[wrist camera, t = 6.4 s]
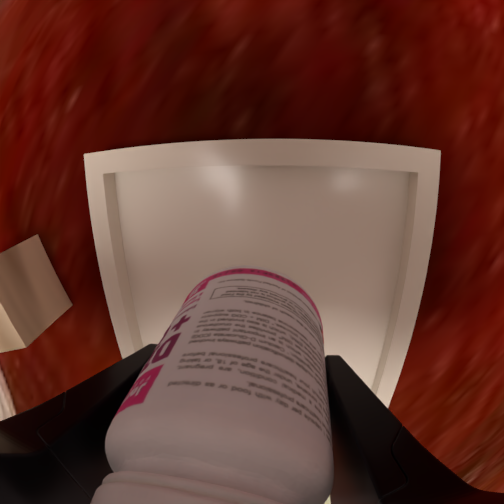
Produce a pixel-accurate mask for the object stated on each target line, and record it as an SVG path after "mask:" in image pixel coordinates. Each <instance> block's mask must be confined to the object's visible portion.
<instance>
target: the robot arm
mask: <svg viewBox="0 0 504 504" xmlns="http://www.w3.org/2000/svg"><path fill="white" fill-rule="evenodd" d="M157 345H158V344H148V345H147V346H145V347H143V348H142V349H140V350H138V351H136V352H135V353H133V354H131V355H129V356H128V357H126V358H124V359H122V360H121V361H119V362H117V363H115V364H114V365H112V366H110V367H108V368H107V369H105V370H103V371H101V372H99V373H98V374H96V375H94V376H92V377H90V378H89V379H87V380H85V381H83V382H82V383H80V384H78V385H76V386H74V387H72V388H71V389H69V390H67V391H66V393H65V392H63V393H61V394H60V395H58V396H56V397H54V398H52V399H50V400H48V401H46V402H44V403H42V404H40V405H38V406H36V407H33V408H31V409H29V410H27V411H24V412H22V413H19V414H17V415H15V416H12V417H10V418H7V419H5V420H2V421H0V504H90V503H91V501H92V498H93V496H94V494H95V491H96V489H97V488H98V487H99V486H101V485H102V481H103V479H104V478H105V477H106V476H107V475H109V474H110V473H114V472H113V470H112V469H111V467H110V465H109V462H108V460H107V456H106V452H105V439H106V434H107V431H108V429H109V427H110V425H111V422H112V420H113V418H114V417H115V415H116V413H117V411H118V410H119V408H120V406H121V404H122V403H123V401H124V399H125V398H126V396H127V394H128V393H129V391H130V389H131V388H132V386H133V385H134V383H135V381H136V380H137V378H138V376H139V374H140V372H141V371H142V369H143V367H144V366H145V364H146V363H147V361H148V360H149V358H150V357H151V355H152V353H153V352H154V350H155V348H156V346H157ZM325 365H326V376H327V386H328V398H329V409H330V420H331V431H332V444H333V458H334V480H333V487H332V490H331V493H330V502H331V504H504V493H497V492H488V491H483V490H479V489H477V488H474V487H472V486H471V485H469V484H467V483H466V482H465V481H463V480H462V479H461V478H460V477H458V476H457V475H456V474H455V473H453V472H452V471H451V470H450V469H449V468H447V467H446V466H445V465H444V464H443V463H441V462H440V461H439V460H438V459H437V458H436V457H434V456H433V455H432V454H431V453H430V452H429V451H428V450H427V449H426V448H424V447H423V446H422V445H421V444H420V443H419V442H418V441H417V440H416V439H415V438H414V437H413V435H412V434H411V433H410V432H409V431H408V430H407V429H406V428H405V427H404V426H402V424H401V422H400V421H399V420H398V419H397V418H396V417H395V416H394V415H393V414H392V413H391V411H390V410H389V409H388V408H387V407H386V406H385V405H384V404H383V403H382V401H381V400H380V399H379V398H378V397H377V396H376V395H375V394H374V393H373V391H372V390H371V389H370V388H369V387H368V386H367V385H366V384H365V383H364V382H363V380H362V379H361V378H360V377H359V376H358V375H357V374H356V373H355V372H354V370H353V369H352V368H351V367H350V366H349V365H348V364H347V363H346V362H345V360H344V359H343V358H342V357H341V356H340V355H327V356H326V357H325Z"/></svg>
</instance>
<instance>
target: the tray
mask: <svg viewBox="0 0 504 504" xmlns="http://www.w3.org/2000/svg"><path fill="white" fill-rule="evenodd" d="M440 157H441V150H434V149H427V148H419V147H411V146H402V145H392V144H382V143H370V142H357V141H341V140H318V139H233V140H210V141H194V142H180V143H168V144H157V145H148V146H139V147H130V148H122V149H115V150H108V151H101V152H94V153H88V154H84V163H85V174H86V184H87V193H88V202H89V209H90V217H91V224H92V230H93V236H94V242H95V248H96V253H97V259H98V264H99V269H100V274H101V278H102V283H103V288H104V292H105V296H106V301H107V305H108V309H109V313H110V317H111V320H112V324H113V328H114V332H115V335H116V339H117V342H118V346H119V349H120V352H121V356H122V359H124V358H126V357H128V356H129V355H131V354H133V353H135V352H136V351H138V350H140V349H142V348H143V347H145V346H147V345H148V344H158V343H159V342H160V340H161V339H162V337H163V335H164V333H165V332H166V330H167V329H168V327H169V326H170V324H171V322H172V321H173V319H174V317H175V316H176V314H177V313H178V311H179V309H180V308H181V306H182V304H183V303H184V301H185V299H186V298H187V296H188V295H189V293H190V292H191V291H192V289H193V288H194V287H195V286H196V285H197V284H198V283H199V282H200V281H201V280H203V279H204V278H205V277H207V276H208V275H210V274H212V273H214V272H216V271H219V270H221V269H224V268H228V267H233V266H240V265H251V266H259V267H264V268H268V269H272V270H275V271H277V272H279V273H282V274H284V275H286V276H288V277H290V278H291V279H293V280H294V281H296V282H297V283H299V284H300V285H301V286H302V287H303V288H304V289H305V290H306V291H307V292H308V293H309V294H310V296H311V297H312V299H313V301H314V302H315V304H316V306H317V308H318V311H319V314H320V317H321V321H322V326H323V337H324V353H325V357H326V356H327V355H340V356H341V357H342V358H343V359H344V360H345V362H346V363H347V364H348V365H349V366H350V367H351V368H352V369H353V370H354V372H355V373H356V374H357V375H358V376H359V377H360V378H361V379H362V380H363V382H364V383H365V384H366V385H367V386H368V387H369V388H370V389H371V390H372V391H373V393H374V394H375V395H376V396H377V397H378V398H379V399H380V400H381V401H382V403H383V404H384V405H385V406H386V407H387V408H388V406H389V404H390V401H391V398H392V396H393V393H394V390H395V387H396V384H397V382H398V379H399V376H400V373H401V370H402V367H403V363H404V360H405V357H406V354H407V350H408V347H409V344H410V340H411V337H412V333H413V329H414V326H415V322H416V318H417V314H418V310H419V306H420V302H421V297H422V293H423V288H424V283H425V279H426V274H427V268H428V263H429V257H430V251H431V245H432V239H433V232H434V225H435V217H436V208H437V199H438V188H439V175H440Z"/></svg>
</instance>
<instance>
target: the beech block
mask: <svg viewBox="0 0 504 504" xmlns="http://www.w3.org/2000/svg"><path fill="white" fill-rule="evenodd" d="M71 306H72V303H71V301H70V299H69V298H68V296H67V294H66V292H65V290H64V288H63V286H62V284H61V283H60V281H59V279H58V277H57V275H56V273H55V271H54V269H53V267H52V265H51V262H50V260H49V258H48V256H47V254H46V252H45V250H44V247H43V245H42V243H41V241H40V238H39V236H38V234H37V235H35V236H33V237H31V238H29V239H27V240H25V241H23V242H21V243H19V244H17V245H15V246H14V247H12V248H10V249H8V250H6V251H4V252H2V253H0V353H1V352H6V351H11V350H16V349H21V348H26V347H27V346H29V345H30V344H31V343H32V342H33V341H34V340H35V339H36V338H37V337H38V336H39V335H40V334H41V333H42V332H43V331H44V330H46V329H47V328H48V327H49V326H50V325H51V324H52V323H53V322H54V321H55V320H56V319H58V318H59V317H60V316H61V315H62V314H63V313H64V312H65V311H66V310H68V309H69V308H70V307H71Z"/></svg>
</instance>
